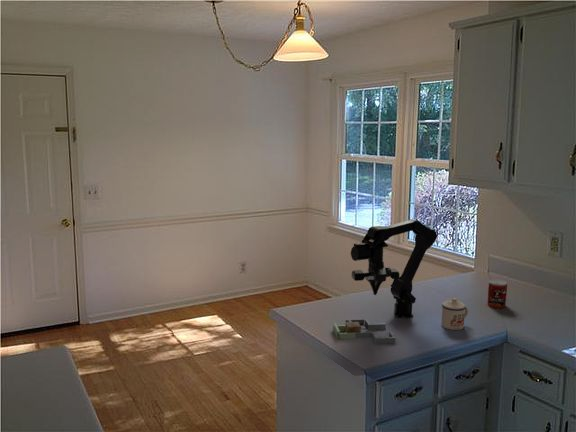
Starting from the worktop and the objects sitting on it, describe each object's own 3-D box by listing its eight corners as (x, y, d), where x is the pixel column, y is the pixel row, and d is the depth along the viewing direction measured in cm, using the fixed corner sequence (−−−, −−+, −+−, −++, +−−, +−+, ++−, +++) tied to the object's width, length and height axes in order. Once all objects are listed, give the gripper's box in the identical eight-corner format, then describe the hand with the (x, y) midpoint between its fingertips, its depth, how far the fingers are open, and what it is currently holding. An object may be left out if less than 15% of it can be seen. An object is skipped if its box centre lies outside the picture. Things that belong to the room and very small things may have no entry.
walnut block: (357, 331, 213) (358, 321, 212) (360, 336, 208) (360, 326, 207) (345, 331, 213) (345, 322, 212) (347, 336, 208) (348, 327, 207)
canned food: (486, 307, 240) (488, 283, 238) (487, 301, 247) (489, 278, 245) (505, 309, 237) (507, 285, 235) (505, 303, 244) (507, 280, 242)
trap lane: (381, 322, 222) (381, 315, 221) (395, 342, 202) (396, 335, 201) (330, 324, 219) (330, 317, 219) (340, 345, 200) (340, 337, 199)
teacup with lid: (451, 332, 212) (453, 303, 210) (436, 324, 220) (437, 296, 218) (474, 327, 217) (476, 299, 215) (458, 319, 225) (460, 292, 223)
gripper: (358, 264, 211) (357, 302, 214) (404, 262, 213) (403, 300, 216) (351, 256, 222) (350, 293, 225) (395, 255, 224) (394, 291, 227)
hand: (374, 294), depth 223 cm, fingers closed
